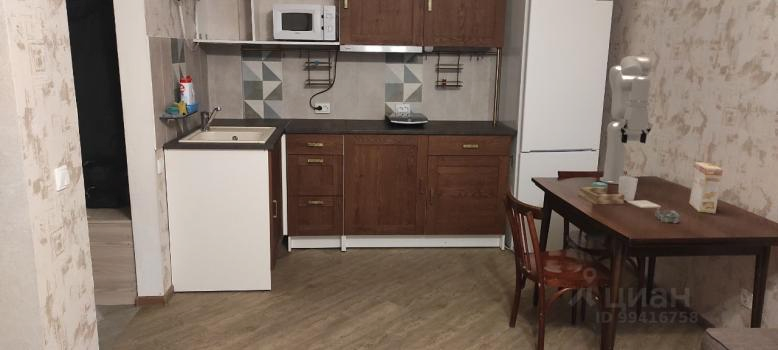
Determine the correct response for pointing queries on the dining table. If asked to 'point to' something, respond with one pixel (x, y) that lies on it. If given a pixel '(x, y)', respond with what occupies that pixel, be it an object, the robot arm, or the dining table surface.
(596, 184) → the teal block
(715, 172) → the coffeecake box
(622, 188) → the white cup
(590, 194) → the oak bay
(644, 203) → the cream tile
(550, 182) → the dining table surface
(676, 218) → the grey stone ruin model
